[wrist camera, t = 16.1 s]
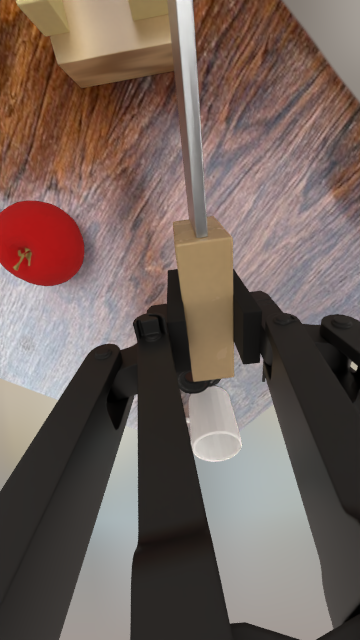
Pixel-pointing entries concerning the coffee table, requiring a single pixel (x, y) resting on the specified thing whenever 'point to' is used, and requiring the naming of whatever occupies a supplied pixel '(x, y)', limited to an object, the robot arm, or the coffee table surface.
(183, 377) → the film camera
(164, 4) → the butter block
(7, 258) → the fruit
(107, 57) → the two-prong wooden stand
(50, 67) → the coffee table surface
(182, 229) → the knife
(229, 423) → the mug
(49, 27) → the butter slice
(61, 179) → the coffee table surface
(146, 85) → the coffee table surface
